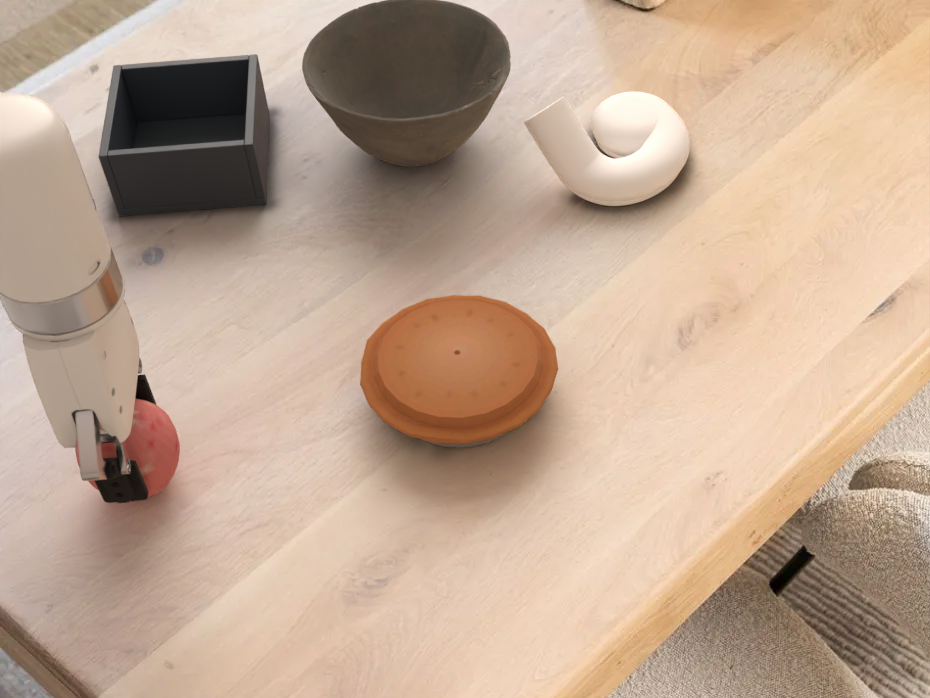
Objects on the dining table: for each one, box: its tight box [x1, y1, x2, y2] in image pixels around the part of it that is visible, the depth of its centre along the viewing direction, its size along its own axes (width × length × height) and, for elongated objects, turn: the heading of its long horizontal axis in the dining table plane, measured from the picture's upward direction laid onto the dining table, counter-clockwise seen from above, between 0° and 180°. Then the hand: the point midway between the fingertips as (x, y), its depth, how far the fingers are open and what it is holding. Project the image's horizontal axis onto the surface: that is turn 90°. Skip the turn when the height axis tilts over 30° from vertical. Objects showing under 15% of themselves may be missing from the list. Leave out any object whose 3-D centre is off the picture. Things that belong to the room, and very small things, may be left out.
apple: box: [74, 398, 181, 498], centre depth 92 cm, size 7×7×8 cm
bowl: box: [301, 0, 512, 168], centre depth 115 cm, size 19×19×10 cm
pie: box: [359, 294, 559, 449], centre depth 98 cm, size 15×16×5 cm
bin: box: [98, 53, 270, 217], centre depth 116 cm, size 14×14×7 cm
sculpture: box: [523, 91, 691, 207], centre depth 113 cm, size 12×15×8 cm
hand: (132, 453), depth 93 cm, fingers closed on apple, 7 cm apart
